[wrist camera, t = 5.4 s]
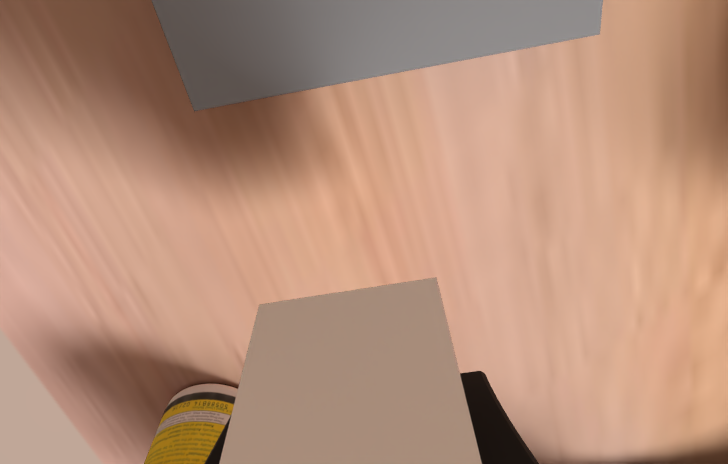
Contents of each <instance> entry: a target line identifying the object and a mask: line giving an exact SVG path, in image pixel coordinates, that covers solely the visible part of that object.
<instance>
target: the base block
mask: <svg viewBox="0 0 728 464" xmlns="http://www.w3.org/2000/svg"><path fill="white" fill-rule="evenodd" d="M152 3H153V6H154V8H155V11H156V13H157V16H158V19H159V21H160V24H161V26H162V29H163V32H164V34H165V37H166V39H167V42H168V44H169V47H170V50H171V52H172V55H173V57H174V60H175V63H176V65H177V68H178V70H179V73H180V76H181V78H182V81H183V83H184V86H185V89H186V91H187V94H188V96H189V99H190V101H191V104H192V107H193V109H194V111H198V110H203V109H209V108H214V107H219V106H224V105H230V104H235V103H240V102H245V101H251V100H256V99H261V98H267V97H272V96H277V95H282V94H288V93H293V92H298V91H304V90H309V89H314V88H319V87H325V86H330V85H335V84H340V83H346V82H351V81H356V80H362V79H367V78H372V77H377V76H383V75H388V74H393V73H399V72H404V71H409V70H414V69H420V68H425V67H430V66H435V65H441V64H446V63H451V62H457V61H462V60H467V59H472V58H478V57H483V56H488V55H493V54H499V53H504V52H509V51H515V50H520V49H525V48H530V47H536V46H541V45H546V44H552V43H557V42H562V41H567V40H573V39H578V38H583V37H588V36H594V35H599V34H600V27H601V15H602V4H603V0H152Z"/></svg>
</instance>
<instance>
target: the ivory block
mask: <svg viewBox="0 0 728 464" xmlns="http://www.w3.org/2000/svg"><path fill="white" fill-rule="evenodd" d="M219 464H482V462H481V458H480V454H479V450H478V446H477V442H476V438H475V433H474V429H473V425H472V421H471V417H470V413H469V409H468V405H467V401H466V397H465V393H464V388H463V384H462V380H461V376H460V372H459V368H458V364H457V360H456V356H455V352H454V347H453V343H452V339H451V335H450V331H449V327H448V323H447V319H446V315H445V311H444V307H443V302H442V298H441V294H440V290H439V286H438V282H437V278H429V279H423V280H416V281H410V282H403V283H397V284H390V285H384V286H377V287H371V288H364V289H357V290H351V291H344V292H338V293H331V294H325V295H318V296H312V297H305V298H299V299H292V300H286V301H279V302H273V303H266V304H260V305H259V308H258V312H257V316H256V320H255V324H254V327H253V331H252V335H251V339H250V343H249V347H248V351H247V355H246V359H245V363H244V367H243V371H242V375H241V379H240V383H239V387H238V391H237V395H236V399H235V403H234V407H233V411H232V415H231V419H230V423H229V427H228V431H227V435H226V439H225V443H224V447H223V451H222V455H221V459H220V463H219Z"/></svg>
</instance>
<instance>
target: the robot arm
mask: <svg viewBox="0 0 728 464" xmlns="http://www.w3.org/2000/svg"><path fill="white" fill-rule="evenodd" d="M460 376H461V380H462V384H463V388H464V393H465V397H466V401H467V405H468V409H469V413H470V417H471V421H472V425H473V429H474V433H475V438H476V442H477V446H478V450H479V454H480V458H481V462H482V464H539V463H538V462H537V460H536V459H535V457H534V456H533V454H532V453H531V451H530V450H529V449H528V447H527V446H526V444H525V443H524V441H523V440H522V438H521V437H520V435H519V434H518V432H517V431H516V429H515V428H514V426H513V424H512V423H511V421H510V419H509V418H508V416H507V414H506V413H505V411H504V410H503V408H502V406H501V404H500V403H499V401H498V399H497V397H496V395H495V393H494V392H493V390H492V388H491V386H490V384H489V382H488V379H487V377H486V375H485V373H483V372H481V371H476V372H468V373H461V374H460ZM231 415H232V414H231ZM230 419H231V416H230V418H229V420H228V421H227V423H226V425H225V427H224V429H223V431H222V433H221V434H220V436H219V438H218V440H217V442H216V443H215V445H214V447H213V449H212V451H211V452H210V454H209V456H208V458H207V460H206V461H205V463H204V464H219V463H220V459H221V455H222V451H223V447H224V443H225V439H226V435H227V431H228V427H229V423H230Z"/></svg>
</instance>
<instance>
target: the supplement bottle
mask: <svg viewBox="0 0 728 464" xmlns="http://www.w3.org/2000/svg"><path fill="white" fill-rule="evenodd" d="M237 391H238V389H237V388H234V387H231V386H227V385H222V384H200V385H195V386H191V387H188V388H186V389H184V390H182V391H180V392H179V393H177V394H176V395H175V396H174V397H173V398H172V399H171V400H170V402H169V403H168V405H167V407H166V409H165V412H164V414H163V416H162V419H161V421H160V424H159V426H158V429H157V432H156V434H155V437H154V439H153V442H152V445H151V447H150V450H149V452H148V455H147V458H146V460H145V463H144V464H204V463H205V461H206V460H207V458H208V456H209V454H210V452H211V451H212V449H213V447H214V445H215V443H216V442H217V440H218V438H219V436H220V434H221V433H222V431H223V429H224V427H225V425H226V423H227V421H228V420H229V418H230V416H231V414H232V411H233V407H234V403H235V399H236V395H237Z"/></svg>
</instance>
